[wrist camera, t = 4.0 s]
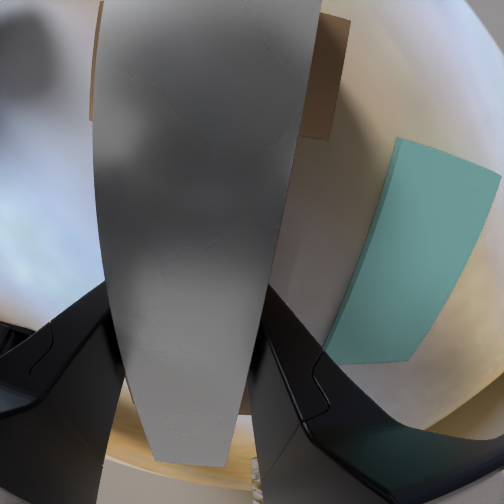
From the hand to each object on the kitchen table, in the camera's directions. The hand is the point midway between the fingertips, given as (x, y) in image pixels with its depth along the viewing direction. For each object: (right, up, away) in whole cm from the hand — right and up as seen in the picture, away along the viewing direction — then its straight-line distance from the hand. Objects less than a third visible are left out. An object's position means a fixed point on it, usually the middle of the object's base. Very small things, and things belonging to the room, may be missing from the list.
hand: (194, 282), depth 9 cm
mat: (+10, 0, +7) cm, 12 cm away
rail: (0, 0, 0) cm, 0 cm away
